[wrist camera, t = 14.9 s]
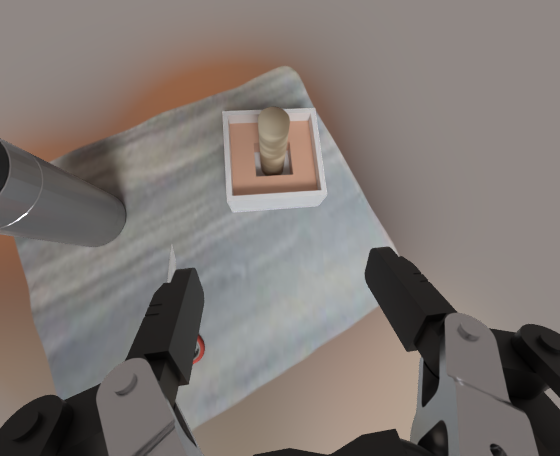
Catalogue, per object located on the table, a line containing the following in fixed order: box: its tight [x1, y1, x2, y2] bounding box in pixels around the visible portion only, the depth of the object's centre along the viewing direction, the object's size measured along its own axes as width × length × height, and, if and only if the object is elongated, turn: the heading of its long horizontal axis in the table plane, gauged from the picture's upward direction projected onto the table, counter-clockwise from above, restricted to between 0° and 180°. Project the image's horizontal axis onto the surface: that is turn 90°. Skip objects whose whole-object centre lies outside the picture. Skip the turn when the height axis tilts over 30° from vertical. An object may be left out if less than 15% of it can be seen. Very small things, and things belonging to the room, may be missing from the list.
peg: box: [258, 107, 290, 176], centre depth 33 cm, size 4×4×12 cm
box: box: [222, 108, 327, 212], centre depth 37 cm, size 15×15×6 cm
